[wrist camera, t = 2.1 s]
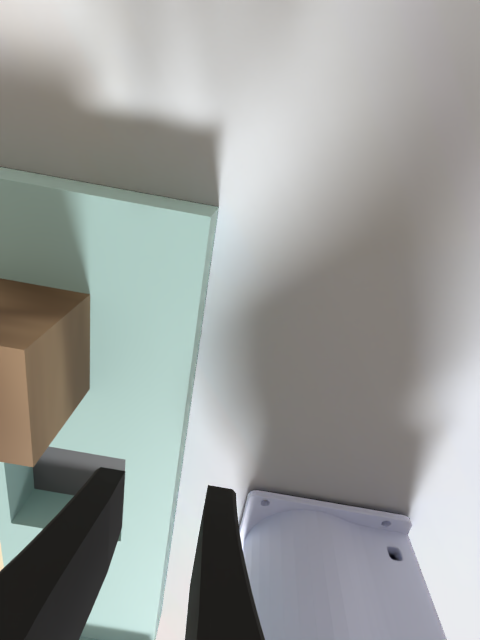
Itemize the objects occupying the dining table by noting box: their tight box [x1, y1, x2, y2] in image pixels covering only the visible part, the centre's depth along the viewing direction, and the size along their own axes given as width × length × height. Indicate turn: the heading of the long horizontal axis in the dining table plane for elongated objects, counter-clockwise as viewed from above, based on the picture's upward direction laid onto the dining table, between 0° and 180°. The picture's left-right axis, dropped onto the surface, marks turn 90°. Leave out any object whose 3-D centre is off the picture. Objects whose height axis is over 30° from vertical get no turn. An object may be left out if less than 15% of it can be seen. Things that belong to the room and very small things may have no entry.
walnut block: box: [0, 278, 90, 467], centre depth 14 cm, size 4×4×4 cm
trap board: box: [0, 167, 219, 640], centre depth 20 cm, size 16×29×4 cm, turn 170°
